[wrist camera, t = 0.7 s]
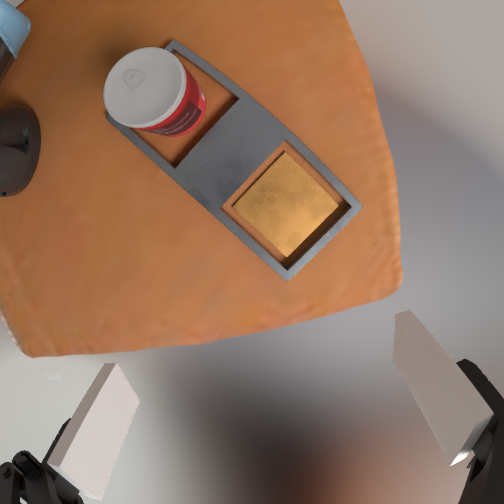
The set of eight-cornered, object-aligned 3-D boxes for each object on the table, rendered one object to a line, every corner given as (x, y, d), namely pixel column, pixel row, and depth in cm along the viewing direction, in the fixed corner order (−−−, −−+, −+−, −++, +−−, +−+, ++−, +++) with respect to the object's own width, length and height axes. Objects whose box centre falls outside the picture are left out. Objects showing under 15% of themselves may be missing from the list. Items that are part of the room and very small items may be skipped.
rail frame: (109, 119, 30) (105, 118, 29) (176, 42, 27) (174, 39, 26) (286, 278, 36) (287, 281, 35) (359, 205, 33) (363, 207, 32)
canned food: (162, 71, 28) (126, 39, 18) (219, 90, 29) (201, 59, 19) (135, 124, 30) (89, 113, 20) (190, 147, 31) (160, 139, 21)
